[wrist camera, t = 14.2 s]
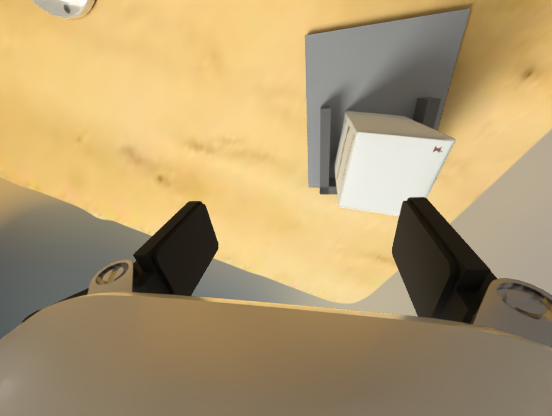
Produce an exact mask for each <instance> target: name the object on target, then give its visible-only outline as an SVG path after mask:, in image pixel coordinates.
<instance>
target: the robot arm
mask: <svg viewBox="0 0 552 416" xmlns="http://www.w3.org/2000/svg"><path fill="white" fill-rule="evenodd" d="M32 1H33V2H34V3H35V4H36V5H38V6H39V7H40V8H42V9H43V10H44V11H46V12H48V13H50V14H52V15H54V16H57V17H61V18H64V19H71V20H73V19H80V18H81V17H83V16H85V15H86V14H87V13H88V12H89V11H90V10H91V8H92V6H93V4H94V2H95V0H32ZM217 250H218V241H217V238H216V235H215V232H214V229H213V226H212V223H211V220H210V217H209V214H208V211H207V208H206V206H205V204H203V203H202V202H201V201H189V202H188V203H187V204H186V205H185V206H184V207H183V208H181V209H180V210H179V211H178V212H177V213H176V214H175V215H174V216H173V217H172V218H171V219H170V220H169V221H168V222H167V223H166V224H165V225H164V226H163V227H162V228H161V229H159V230H158V231H157V232H156V233H155V234H154V235H153V236H152V237H151V238H150V239H149V240H148V241H147V242H146V243H145V244H144V245H143V246H142V247H141V248H140V249H139V250H138V251H136V252H135V254H133V256H134V257H135V259H136V262H135V263H134V264H133V262H132V261H130V260H120V261H117V262H114V263H112V264H109V265H107V266H106V267H104V268H102V269H101V270H100V271H99V272H98V273H96V275H95V276H94V277H93V278H92V280H91V283H90V286H89V288H88V289H86V290H83V291H81V292H79V293H77V294H74V295H72V296H70V297H68V298H66V299H63V300H61V301H59V302H57V303H55V304H52V305H50V306H48V307H46V308H44V309H42V310H38V311H36V312H34V313H32V314H31V315H29V316H28V317H27V318H25V319H24V320H23V321H22V323H21V324H20V325H19V326H18V327H16V328H15V329H14V330H12V331H11V332H10V333H9V334H7V335H6V336H5V337H3V338H2V339H1V340H0V416H552V295H551V294H549V293H547V292H546V291H544V290H542V289H540V288H538V287H536V286H534V285H531V284H529V283H525V282H523V281H520V280H514V279H508V278H499V279H497V278H496V277H495V276H494V274H493V273H492V272H491V271H490V269H489V268H488V267H487V265H486V264H485V263H484V262H483V261H482V260H481V259H480V258H479V257H478V255H477V254H476V253H475V252H474V251H473V250H472V249H471V248H470V247H469V245H468V244H467V243H466V242H465V241H464V240H463V239H462V238H461V236H460V235H459V234H458V233H457V232H456V231H455V230H454V229H453V228H452V226H451V225H450V224H449V223H448V222H447V221H446V220H445V219H444V217H443V216H442V215H441V214H440V213H439V212H438V211H437V210H436V208H435V207H434V206H433V205H432V204H431V203H430V202H429V201H428V200H427V198H425V197H409V198H408V199H407V201H403V202H402V206H401V210H400V215H399V219H398V224H397V229H396V233H395V238H394V242H393V247H392V254H393V258H394V260H395V262H396V265H397V267H398V270H399V272H400V274H401V277H402V279H403V282H404V284H405V286H406V289H407V291H408V294H409V295H410V298H411V301H412V303H413V305H414V308H415V310H416V313H417V315H418V317H416V316H408V315H398V314H389V313H379V312H368V311H357V310H346V309H335V308H324V307H312V306H302V305H290V304H279V303H267V302H255V301H244V300H231V299H220V298H207V297H194V296H191V295H192V293H193V291H194V289H195V288H196V286H197V284H198V283H199V281H200V279H201V278H202V276H203V274H204V272H205V271H206V269H207V267H208V266H209V264H210V262H211V260H212V259H213V257H214V255H215V254H216V252H217Z"/></svg>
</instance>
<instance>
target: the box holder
mask: <svg viewBox="0 0 552 416" xmlns="http://www.w3.org/2000/svg"><path fill="white" fill-rule="evenodd" d="M470 9H471V8H469V9H463V10H457V11H450V12H444V13H438V14H432V15H426V16H420V17H414V18H408V19H402V20H396V21H390V22H384V23H378V24H372V25H365V26H359V27H353V28H347V29H341V30H335V31H329V32H323V33H317V34H311V35H305V55H306V97H307V140H308V182H309V187H320V194H337V187H336V178H335V167H334V162H335V158H336V154H337V150H338V146H339V141H340V136H341V132H342V127H343V121H344V115H345V111H355V112H366V113H378V114H388V115H399V116H405V117H407V118H410V119H412V120H414V121H416V122H418V123H421V124H423V125H425V126H427V127H430V128H432V129H434V130H436V131H437V130H438V126H439V123H440V119H441V115H442V112H443V108H444V104H445V101H446V97H447V93H448V90H449V86H450V82H451V78H452V75H453V71H454V67H455V64H456V60H457V56H458V53H459V49H460V45H461V42H462V38H463V34H464V31H465V27H466V23H467V20H468V16H469V12H470Z"/></svg>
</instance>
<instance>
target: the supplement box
mask: <svg viewBox="0 0 552 416" xmlns="http://www.w3.org/2000/svg"><path fill="white" fill-rule="evenodd" d="M454 143H455V139H454V138H452V137H450V136H447V135H445V134H443V133H441V132H438V131H436V130H434V129H432V128H430V127H427V126H425V125H423V124H421V123H418V122H416V121H414V120H412V119H410V118H407V117H405V116H399V115H388V114H378V113H366V112H355V111H345V115H344V121H343V127H342V132H341V136H340V141H339V146H338V150H337V154H336V158H335V162H334V167H335V178H336V187H337V195H338V205H339V207H343V208H349V209H356V210H363V211H370V212H377V213H383V214H389V215H394V216H399V215H400V210H401V206H402V202H403V201H407V199H408V198H409V197H425V198H427V196H428V194H429V192H430V190H431V188H432V187H433V185H434V183H435V181H436V179H437V176H438V174H439V172H440V170H441V168H442V166H443V164H444V162H445V160H446V158H447V156H448V154H449V152H450V150H451V148H452V146H453V145H454Z"/></svg>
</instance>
